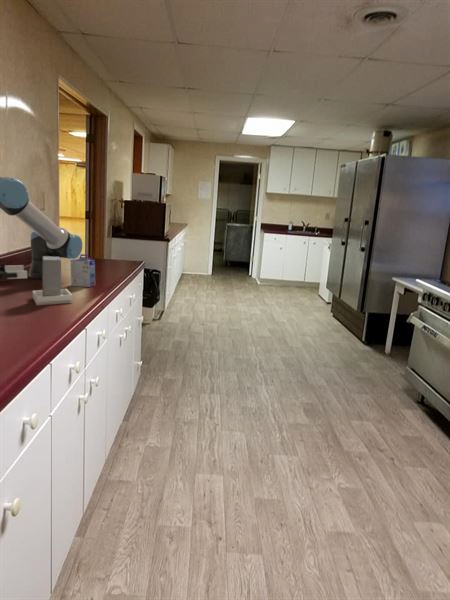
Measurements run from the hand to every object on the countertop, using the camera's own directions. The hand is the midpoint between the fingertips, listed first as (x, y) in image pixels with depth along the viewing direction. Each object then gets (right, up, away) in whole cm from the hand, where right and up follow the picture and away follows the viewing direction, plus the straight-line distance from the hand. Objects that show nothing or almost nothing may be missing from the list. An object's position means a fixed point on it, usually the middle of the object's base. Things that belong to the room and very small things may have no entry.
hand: (25, 271), depth 161 cm
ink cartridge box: (+10, -4, +37) cm, 39 cm away
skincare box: (+8, -10, +7) cm, 14 cm away
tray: (+7, -11, +7) cm, 15 cm away
